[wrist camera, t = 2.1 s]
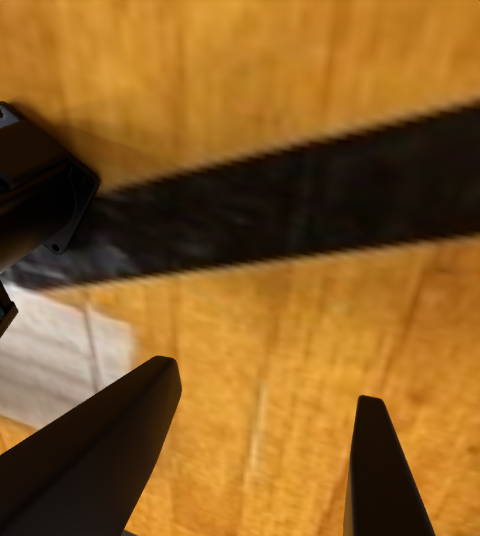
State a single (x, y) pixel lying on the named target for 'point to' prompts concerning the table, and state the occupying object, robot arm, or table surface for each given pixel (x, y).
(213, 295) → the table surface
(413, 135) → the table surface
